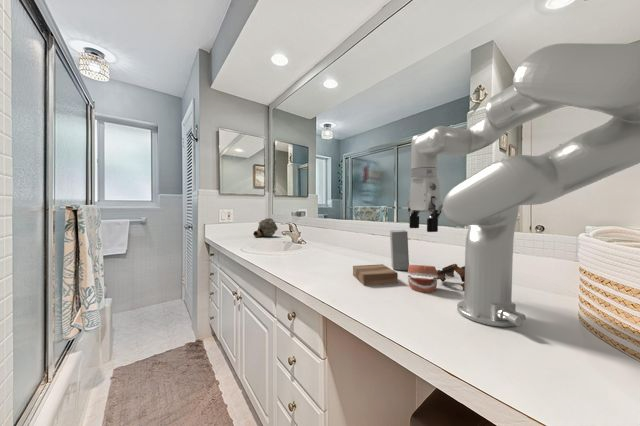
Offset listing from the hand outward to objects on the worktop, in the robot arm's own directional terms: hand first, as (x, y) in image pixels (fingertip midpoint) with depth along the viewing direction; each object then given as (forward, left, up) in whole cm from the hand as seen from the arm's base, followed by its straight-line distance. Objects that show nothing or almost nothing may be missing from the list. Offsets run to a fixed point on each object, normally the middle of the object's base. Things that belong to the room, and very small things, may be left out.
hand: (422, 229), depth 78 cm
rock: (+134, +56, -19) cm, 146 cm away
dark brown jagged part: (+1, -13, -19) cm, 23 cm away
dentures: (0, 0, -19) cm, 19 cm away
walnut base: (+13, +11, -19) cm, 26 cm away
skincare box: (+25, -5, -19) cm, 32 cm away
